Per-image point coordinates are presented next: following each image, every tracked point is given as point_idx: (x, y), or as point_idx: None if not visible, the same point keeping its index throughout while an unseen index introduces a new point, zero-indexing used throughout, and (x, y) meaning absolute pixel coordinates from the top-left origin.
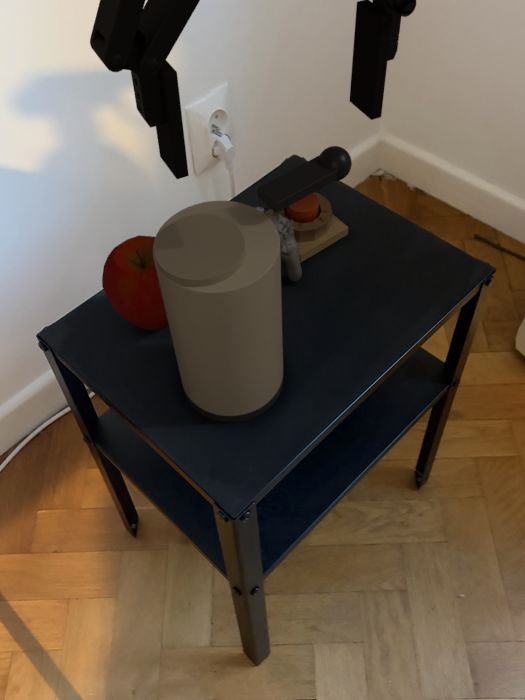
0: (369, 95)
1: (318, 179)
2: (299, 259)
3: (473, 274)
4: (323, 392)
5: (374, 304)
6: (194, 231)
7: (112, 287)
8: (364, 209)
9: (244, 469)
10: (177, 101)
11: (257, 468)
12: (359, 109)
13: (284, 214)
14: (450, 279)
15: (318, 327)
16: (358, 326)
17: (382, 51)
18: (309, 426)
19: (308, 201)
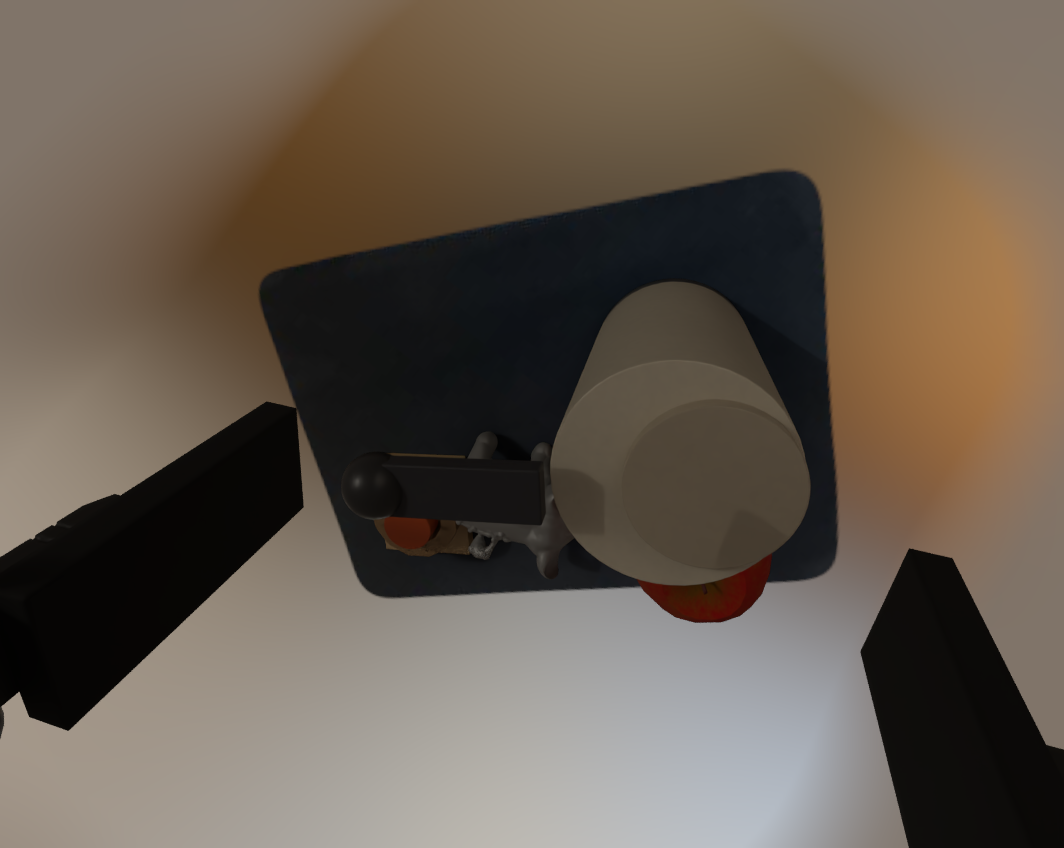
0: (256, 456)
1: (429, 469)
2: (471, 452)
3: (270, 283)
4: (579, 252)
5: (421, 331)
6: (695, 525)
7: (767, 566)
8: (333, 472)
9: (759, 214)
10: (1019, 787)
11: (742, 204)
12: (299, 463)
13: (440, 529)
14: (303, 297)
15: (513, 349)
16: (464, 314)
17: (122, 514)
18: (633, 216)
19: (400, 522)
